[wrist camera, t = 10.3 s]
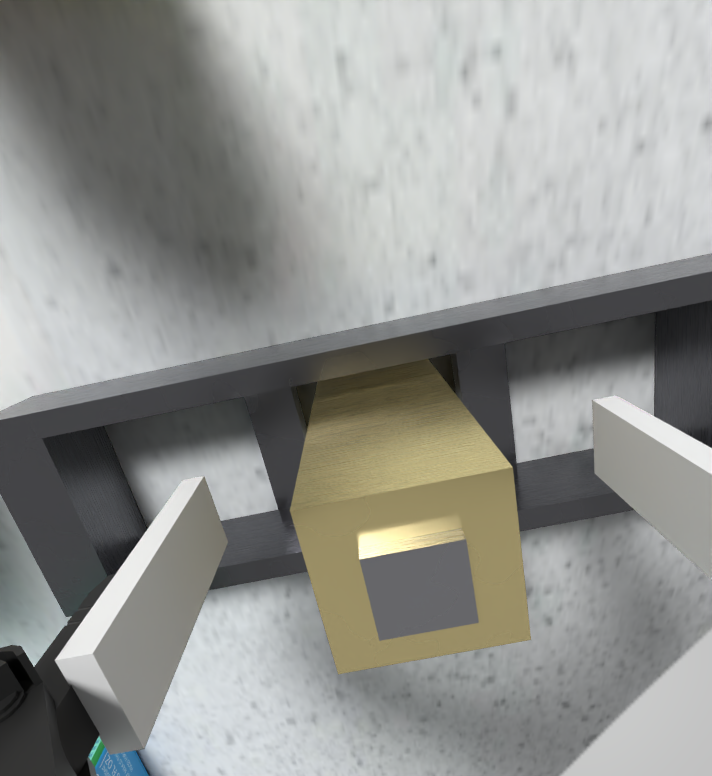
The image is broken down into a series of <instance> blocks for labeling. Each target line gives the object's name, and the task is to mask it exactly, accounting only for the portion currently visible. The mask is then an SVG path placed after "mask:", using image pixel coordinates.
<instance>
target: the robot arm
mask: <svg viewBox="0 0 712 776" xmlns="http://www.w3.org/2000/svg"><path fill="white" fill-rule="evenodd" d="M592 407H593V440H594V472H595V474H596V475H597V476H598V477H599V478H600V479H601V480H602V481H604V482H605V483H606V484H607V485H608V486H609V487H610V488H611V489H612V490H613V491H614V492H616V493H617V494H618V495H619V496H620V497H621V498H622V499H623V500H624V501H625V502H626V503H628V504H629V505H630V506H631V507H632V508H633V509H634V510H635V511H636V512H637V513H638V514H640V515H641V516H642V517H643V518H644V519H645V520H646V521H647V522H648V523H649V524H650V525H652V526H653V527H654V528H655V529H656V530H657V531H658V532H659V533H660V534H661V535H662V536H664V537H665V538H666V539H667V540H668V541H669V542H670V543H671V544H672V545H673V546H674V547H676V548H677V549H678V550H679V551H680V552H681V553H682V554H683V555H684V556H685V557H686V558H688V559H689V560H690V561H691V562H692V563H693V564H694V565H695V566H696V567H697V568H698V569H700V570H701V571H702V572H703V573H704V574H705V575H706V576H707V577H708V578H709V579H710V580H712V448H710V447H709V446H707V445H705V444H703V443H701V442H700V441H698V440H696V439H694V438H692V437H691V436H689V435H687V434H685V433H683V432H682V431H680V430H678V429H676V428H674V427H672V426H671V425H669V424H667V423H665V422H663V421H662V420H660V419H658V418H656V417H654V416H653V415H651V414H649V413H647V412H645V411H644V410H642V409H640V408H638V407H636V406H634V405H633V404H631V403H629V402H627V401H625V400H624V399H622V398H620V397H618V396H616V395H615V396H610V397H605V398H600V399H594V400H592ZM227 544H228V540H227V537H226V535H225V532H224V529H223V527H222V524H221V521H220V518H219V516H218V513H217V510H216V507H215V505H214V502H213V499H212V496H211V494H210V491H209V488H208V485H207V483H206V480H205V477H204V476H201V477H196V478H191V479H186V480H182V481H181V483H180V484H179V486H178V487H177V488H176V490H175V491H174V493H173V494H172V496H171V497H170V498H169V500H168V501H167V503H166V504H165V505H164V507H163V508H162V510H161V511H160V512H159V514H158V515H157V517H156V518H155V519H154V521H153V522H152V524H151V525H150V527H149V528H148V529H147V531H146V532H145V534H144V535H143V536H142V538H141V539H140V541H139V542H138V543H137V545H136V546H135V548H134V549H133V551H132V552H131V553H130V555H129V556H128V558H127V559H126V560H125V562H124V563H123V565H122V566H121V567H120V569H119V570H118V572H117V573H116V574H114V575H109V576H108V577H106V578H105V579H104V580H103V581H102V582H101V583H100V584H98V585H97V586H96V587H95V588H94V589H93V590H92V591H91V592H90V593H89V594H88V596H87V597H86V598H85V600H84V601H83V602H82V604H81V605H80V606H79V608H78V611H77V612H75V613H74V614H73V616H72V617H71V618H70V620H69V621H68V622H67V623H68V625H67V626H64V628H63V629H62V630H61V632H60V633H59V634H58V636H57V637H56V638H55V640H54V641H53V642H52V644H51V645H50V646H49V648H48V649H47V651H46V652H45V653H44V655H43V656H42V657H41V659H40V660H39V661H38V663H37V664H36V665H35V667H33V665H32V663H31V662H30V660H29V658H28V657H27V655H26V653H25V652H24V650H23V649H22V647H21V646H15V645H11V646H7V647H3V648H0V776H97V775H96V770H95V767H94V765H93V763H92V762H91V760H90V758H89V757H88V756H89V754H90V752H91V751H92V749H93V747H94V745H95V743H96V741H97V739H98V737H100V739H101V741H102V742H103V744H104V746H105V747H106V749H107V751H108V753H109V754H110V755H111V754H117V753H123V752H129V751H135V750H141V749H144V748H145V746H146V743H147V741H148V739H149V736H150V734H151V731H152V729H153V726H154V724H155V721H156V719H157V716H158V714H159V711H160V709H161V706H162V704H163V701H164V699H165V697H166V694H167V692H168V689H169V687H170V684H171V682H172V679H173V677H174V674H175V672H176V669H177V667H178V664H179V662H180V660H181V657H182V655H183V652H184V650H185V647H186V645H187V642H188V640H189V637H190V635H191V632H192V630H193V627H194V625H195V623H196V620H197V618H198V615H199V613H200V610H201V608H202V605H203V603H204V600H205V598H206V595H207V593H208V590H209V588H210V585H211V583H212V581H213V578H214V576H215V573H216V571H217V568H218V566H219V563H220V561H221V558H222V556H223V553H224V551H225V548H226V546H227Z"/></svg>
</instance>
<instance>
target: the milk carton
mask: <svg viewBox="0 0 712 776" xmlns="http://www.w3.org/2000/svg"><path fill="white" fill-rule="evenodd" d="M88 757H89V758H90V760H91V762H92V763H93V765H94V767H95V770H96V775H97V776H149V775H148V773H147V771H146V769H145V767H144V765H143V764H142V762H141V760H140V758H139V756H138V754H137V752H136V750H135V751H129V752H123V753H117V754H111V755H110V754H109V753H108V751H107V749H106V747H105V746H104V744H103V742H102V741H101V739H100V737H98V739H97V741H96V743H95V745H94V747H93V749H92V751H91V752H90V754H89V756H88Z"/></svg>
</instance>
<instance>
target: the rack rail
mask: <svg viewBox="0 0 712 776" xmlns="http://www.w3.org/2000/svg"><path fill="white" fill-rule="evenodd" d="M652 312H656V324H655V417H656V418H658V419H660V420H662V421H663V422H665V423H667V424H669V425H671V426H672V427H674V428H676V429H678V430H680V431H682V432H683V433H685V434H687V435H689V436H691V437H692V438H694V439H696V440H698V441H700V442H701V443H703V444H705V445H707V446H709V447H710V448H712V254H707V255H702V256H697V257H693V258H688V259H683V260H678V261H674V262H669V263H664V264H659V265H655V266H650V267H645V268H640V269H636V270H631V271H626V272H621V273H617V274H612V275H607V276H602V277H598V278H593V279H588V280H583V281H579V282H574V283H569V284H564V285H560V286H555V287H550V288H545V289H541V290H536V291H531V292H526V293H522V294H517V295H512V296H507V297H503V298H498V299H493V300H488V301H484V302H479V303H474V304H469V305H465V306H460V307H455V308H450V309H446V310H441V311H436V312H431V313H427V314H422V315H417V316H412V317H408V318H403V319H398V320H393V321H389V322H384V323H379V324H374V325H370V326H365V327H360V328H355V329H351V330H346V331H341V332H336V333H332V334H327V335H322V336H317V337H313V338H308V339H303V340H298V341H294V342H289V343H284V344H279V345H275V346H270V347H265V348H260V349H256V350H251V351H246V352H241V353H237V354H232V355H227V356H222V357H218V358H213V359H208V360H203V361H199V362H194V363H189V364H184V365H180V366H175V367H170V368H165V369H161V370H156V371H151V372H146V373H142V374H137V375H132V376H127V377H123V378H118V379H113V380H108V381H104V382H99V383H94V384H89V385H85V386H80V387H75V388H70V389H66V390H61V391H56V392H51V393H47V394H42V395H37V396H32V397H30V398H28V399H26V400H24V401H22V402H19V403H17V404H15V405H13V406H11V407H8V408H6V409H4V410H2V411H0V494H1V496H2V498H3V499H4V501H5V503H6V505H7V507H8V509H9V511H10V513H11V515H12V516H13V518H14V520H15V522H16V524H17V526H18V528H19V530H20V532H21V533H22V535H23V537H24V539H25V541H26V543H27V545H28V547H29V548H30V550H31V552H32V554H33V556H34V558H35V560H36V562H37V564H38V565H39V567H40V569H41V571H42V573H43V575H44V577H45V579H46V581H47V582H48V584H49V586H50V588H51V590H52V592H53V594H54V596H55V598H56V599H57V601H58V603H59V605H60V607H61V609H62V611H63V613H64V614H65V616H66V617H68V616H73V614H74V613H75V612H77V611H78V608H79V606H80V605H81V604H82V602H83V601H84V600H85V598H86V597H87V596H88V594H89V593H90V592H91V591H92V590H93V589H94V588H95V587H96V586H97V585H98V584H100V583H101V582H102V581H103V580H104V579H105V578H106V577H108V576H109V575H114V574H116V573H117V572H118V570H119V569H120V567H121V566H122V565H123V563H124V562H125V560H126V559H127V558H128V556H129V555H130V553H131V552H132V551H133V549H134V548H135V546H136V545H137V543H138V542H139V541H140V539H141V538H142V536H143V535H144V534H145V532H146V531H147V528H146V526H145V523H144V521H143V518H142V516H141V514H140V511H139V509H138V507H137V504H136V502H135V499H134V497H133V495H132V492H131V490H130V488H129V485H128V483H127V480H126V478H125V476H124V473H123V471H122V469H121V466H120V464H119V462H118V459H117V457H116V454H115V452H114V450H113V447H112V445H111V443H110V440H109V438H108V435H107V433H106V431H105V428H104V425H109V424H114V423H119V422H124V421H128V420H133V419H138V418H143V417H148V416H153V415H158V414H162V413H167V412H172V411H177V410H182V409H187V408H192V407H196V406H201V405H206V404H211V403H216V402H221V401H225V400H230V399H235V398H240V397H244V398H245V401H246V404H247V407H248V411H249V414H250V417H251V421H252V424H253V427H254V430H255V434H256V437H257V440H258V443H259V447H260V450H261V453H262V457H263V460H264V463H265V466H266V470H267V473H268V476H269V480H270V483H271V486H272V489H273V493H274V496H275V499H276V503H277V506H278V509H279V510H276V511H271V512H266V513H261V514H255V515H250V516H245V517H240V518H235V519H230V520H225V521H221V524H222V527H223V529H224V532H225V535H226V537H227V540H228V544H227V546H226V548H225V551H224V553H223V556H222V558H221V561H220V563H219V566H218V568H217V571H216V573H215V576H214V578H213V581H212V583H211V585H210V588H209V590H212V589H217V588H222V587H227V586H233V585H238V584H243V583H249V582H254V581H259V580H264V579H270V578H275V577H280V576H286V575H291V574H296V573H302V572H307V571H308V570H307V567H306V563H305V560H304V557H303V553H302V550H301V547H300V543H299V540H298V536H297V533H296V530H295V526H294V523H293V520H292V516H291V513H290V508H291V503H292V498H293V494H294V489H295V484H296V480H297V475H298V470H299V466H300V461H301V457H302V452H303V447H304V443H305V438H306V433H307V427H306V423H305V419H304V416H303V412H302V408H301V404H300V400H299V397H298V393H297V389H296V386H298V385H303V384H308V383H313V382H318V381H322V380H327V379H332V378H337V377H342V376H347V375H351V374H356V373H361V372H366V371H371V370H376V369H381V368H385V367H390V366H395V365H400V364H405V363H410V362H414V361H419V360H424V359H429V358H434V357H439V356H444V355H448V354H450V356H451V363H452V370H453V377H454V384H455V391H456V395H457V397H458V398H459V399H460V400H461V402H462V403H463V404H464V406H465V407H466V408H467V409H468V411H469V412H470V413H471V414H472V416H473V417H474V418H475V420H476V421H477V422H478V423H479V425H480V426H481V427H482V429H483V430H484V431H485V432H486V434H487V435H488V436H489V437H490V439H491V440H492V441H493V443H494V444H495V445H496V446H497V448H498V449H499V450H500V451H501V453H502V454H503V455H504V457H505V458H506V459H507V460H508V462H509V463H510V464H511V466H512V467H513V474H514V483H515V493H516V502H517V512H518V521H519V531H524V530H529V529H535V528H540V527H545V526H550V525H556V524H561V523H566V522H572V521H577V520H582V519H588V518H593V517H598V516H603V515H609V514H614V513H619V512H625V511H630V510H634V509H633V508H632V507H631V506H630V505H629V504H628V503H626V502H625V501H624V500H623V499H622V498H621V497H620V496H619V495H618V494H617V493H616V492H614V491H613V490H612V489H611V488H610V487H609V486H608V485H607V484H606V483H605V482H604V481H602V480H601V479H600V478H599V477H598V476H597V475H596V474H595V472H594V449H589V450H584V451H578V452H573V453H568V454H563V455H558V456H553V457H548V458H543V459H537V460H532V461H527V462H522V463H517V464H516V454H515V444H514V434H513V424H512V414H511V404H510V395H509V385H508V375H507V365H506V355H505V345H504V343H507V342H511V341H516V340H521V339H526V338H531V337H536V336H540V335H545V334H550V333H555V332H560V331H565V330H570V329H574V328H579V327H584V326H589V325H594V324H599V323H604V322H608V321H613V320H618V319H623V318H628V317H633V316H637V315H642V314H647V313H652Z"/></svg>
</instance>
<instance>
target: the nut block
mask: <svg viewBox="0 0 712 776" xmlns="http://www.w3.org/2000/svg"><path fill="white" fill-rule="evenodd" d="M290 513H291V516H292V520H293V523H294V526H295V530H296V533H297V536H298V540H299V543H300V547H301V550H302V553H303V557H304V560H305V563H306V567H307V570H308V574H309V577H310V580H311V584H312V587H313V590H314V594H315V597H316V601H317V604H318V607H319V611H320V614H321V618H322V621H323V624H324V628H325V631H326V634H327V638H328V641H329V645H330V648H331V651H332V655H333V658H334V661H335V665H336V668H337V672H338V674H342V673H348V672H353V671H359V670H365V669H370V668H376V667H381V666H387V665H393V664H398V663H404V662H409V661H415V660H421V659H426V658H432V657H437V656H443V655H449V654H454V653H460V652H465V651H471V650H476V649H482V648H488V647H493V646H499V645H504V644H510V643H516V642H521V641H527V640H531V636H530V626H529V617H528V607H527V598H526V588H525V579H524V569H523V560H522V550H521V541H520V531H519V521H518V512H517V502H516V493H515V483H514V474H513V467H512V466H511V464H510V463H509V462H508V460H507V459H506V458H505V457H504V455H503V454H502V453H501V451H500V450H499V449H498V448H497V446H496V445H495V444H494V443H493V441H492V440H491V439H490V437H489V436H488V435H487V434H486V432H485V431H484V430H483V429H482V427H481V426H480V425H479V423H478V422H477V421H476V420H475V418H474V417H473V416H472V414H471V413H470V412H469V411H468V409H467V408H466V407H465V406H464V404H463V403H462V402H461V400H460V399H459V398H458V397H457V395H456V394H455V393H454V392H453V390H452V389H451V388H450V386H449V385H448V384H447V383H446V381H445V380H444V379H443V377H442V376H441V375H440V374H439V372H438V371H437V370H436V369H435V367H434V366H433V365H432V363H431V362H430V361H429V360H428V359H424V360H419V361H414V362H410V363H405V364H400V365H395V366H390V367H385V368H381V369H376V370H371V371H366V372H361V373H356V374H351V375H347V376H342V377H337V378H332V379H327V380H322V381H318V382H317V387H316V392H315V396H314V401H313V405H312V410H311V415H310V419H309V424H308V429H307V433H306V438H305V443H304V447H303V452H302V457H301V461H300V466H299V470H298V475H297V480H296V484H295V489H294V494H293V498H292V503H291V508H290Z"/></svg>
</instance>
